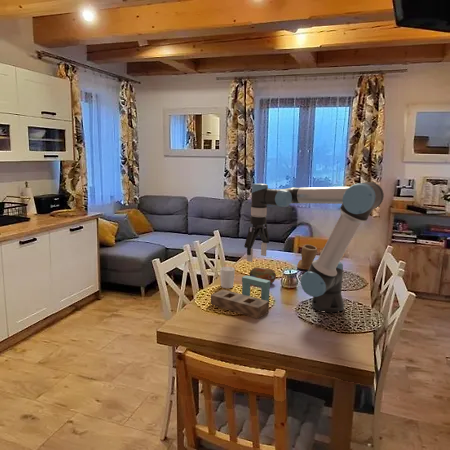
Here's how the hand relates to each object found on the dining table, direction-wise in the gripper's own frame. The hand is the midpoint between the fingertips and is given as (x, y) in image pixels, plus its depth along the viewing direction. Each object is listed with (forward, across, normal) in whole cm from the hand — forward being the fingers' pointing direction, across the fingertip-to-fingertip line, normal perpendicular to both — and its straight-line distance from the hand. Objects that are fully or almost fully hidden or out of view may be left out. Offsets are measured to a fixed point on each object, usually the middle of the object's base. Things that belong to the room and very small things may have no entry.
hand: (256, 258), depth 199 cm
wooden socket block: (+21, +15, 0) cm, 26 cm away
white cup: (+22, -7, -22) cm, 31 cm away
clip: (+21, 0, 0) cm, 21 cm away
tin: (+21, -25, -10) cm, 34 cm away
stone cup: (+21, -68, -2) cm, 71 cm away
